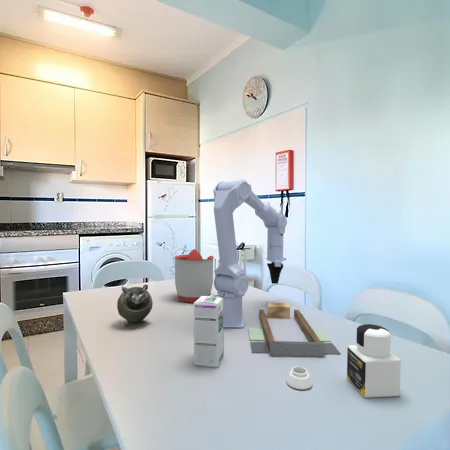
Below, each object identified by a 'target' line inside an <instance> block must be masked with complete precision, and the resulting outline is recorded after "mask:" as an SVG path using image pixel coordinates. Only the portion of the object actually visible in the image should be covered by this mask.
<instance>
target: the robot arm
mask: <svg viewBox="0 0 450 450" xmlns="http://www.w3.org/2000/svg"><path fill="white" fill-rule="evenodd" d="M212 192H213V198H214V199H213V200H214V203H213V214H214V215H213V217H214V223H215V231H216V232H215V233H216V239H217V248H218V256H219V257H218V258H219V265H218V267H216V269H214V277H213V286H214V287H213V288H214V289H215V290H216V291H217V292H216V294H213V295H212V296H217V297H223V328H234V329H235V328H236V329H237V328H239V329H242V328H244V327H245V324H244V318H243V297H244V296H245V294H246V293H247V291H248V289H249V280H248V277H247V275H246V270H245V269H244V268H243V267H242V266H241V265H240V263H239V260H238V251H237V240H236V232H235V231H236V230H235V222H234V212H235V210H236V209H238V208H239V207H240V206H241V205H243V204H244V203H245V204H247V205H248V206H249V207H250V208H252V209H253V210H254V213H255V215H256V216H257V217H258V218H259V219H260V220H261V221H262V222H263V224H264V227H265V228H266V229H267V241H266V242H267V243H266V244H267V247H266V249H267V252H266V261H268V262H267V263H266V266H267V268H268V270H269V276H270V277H269V278H270V281H271V284H272V285H273V284H274V285H277V284H279V280H280V276H281V273H282V270H283V268H284V264H283V263H282V262H284V261H287V258H286V257H284V234H285V232H286V227H287V226H288V225H287V224H288V220H287V217H286V215H285V214H284V213H282V212H278V211H277V209H276V208H274V206H272V205H271V204H270V202H269V201H262V200H261V199H260V198H259V196H257V194H256V193H255V192H254V191H253V190H252V185H251V184H249V183H248V181H247V180H245V179H240V180H229V181H219V182H218V183H217V184H216V185H215V187H214V189H213V190H212ZM269 262H270V263H269Z"/></svg>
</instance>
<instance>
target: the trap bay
mask: <svg viewBox="0 0 450 450" xmlns="http://www.w3.org/2000/svg"><path fill="white" fill-rule="evenodd" d="M249 344H250V349H251V353H252V354H269V356H270V357H307V358H308V357H309V358H311V357H312V358H314V357H315V358H316V357H317V358H319V357H320V358H321V357H322V358H325V355H341V352H340V350H339V349H337V347H336V346H335V344H334V343H332V342H309V341H286V340H285V341H283V340H282V341H281V340H280V341H279V340H277V341H276V340H275V341H269V350H268V347H267V343H266V341H250V343H249Z"/></svg>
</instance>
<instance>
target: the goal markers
mask: <svg viewBox="0 0 450 450" xmlns="http://www.w3.org/2000/svg"><path fill="white" fill-rule="evenodd" d="M247 331H248V337H249V341H250V342H266V339H265V336H264V332H263V329H262V328H248V330H247ZM313 331H314V332H315V334H316V335H317V336H318V338H319V339H320V341H321V342H323V343H332V342H331V340H330V338H329V337H328V336H327V335H326V333H325V332H324V330H323V329H313Z"/></svg>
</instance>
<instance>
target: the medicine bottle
mask: <svg viewBox="0 0 450 450" xmlns="http://www.w3.org/2000/svg"><path fill="white" fill-rule="evenodd" d="M391 337H392V336H391V331H390V330H388V329H387V328H385V327H384V326H382V325H378V324H377V325H376V324H371V323H370V324H369V323H367V324H365V323H364V324H360V325H358V326H357V328H356V343H355V344H354V345H353V344H352V345H349V344H348V345H347V353H346V354H347V356H346V357H347V359H346V360H347V363H346V378H347V380H348V381H349V382H350V383H351V384H352V386H353V387H354V388H355V389H356V390H357V391H358V392H359V393H360V394H361V395H362V397H363V398H365V399H366V398H389V397H399V396H400V395H401V393H400V392H401V367H402V366H401V365H402V363H401V362H402V361H401V359H400V358H399V357H397V356H396V355H394V354H393V353H392V352H391V339H392V338H391Z"/></svg>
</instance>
